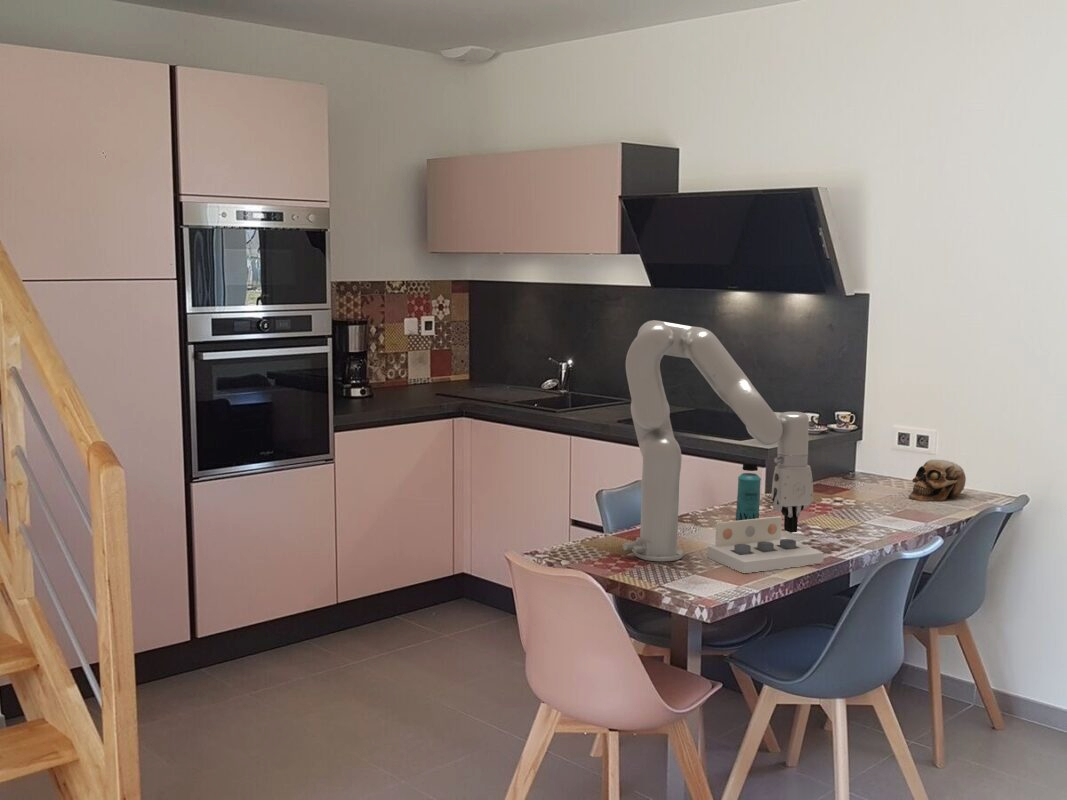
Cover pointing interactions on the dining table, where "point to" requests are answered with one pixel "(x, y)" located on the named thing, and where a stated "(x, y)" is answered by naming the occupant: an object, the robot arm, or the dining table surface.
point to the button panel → (751, 535)
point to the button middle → (765, 546)
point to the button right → (787, 544)
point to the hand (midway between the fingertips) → (790, 531)
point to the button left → (742, 549)
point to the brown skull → (938, 481)
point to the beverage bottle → (748, 493)
